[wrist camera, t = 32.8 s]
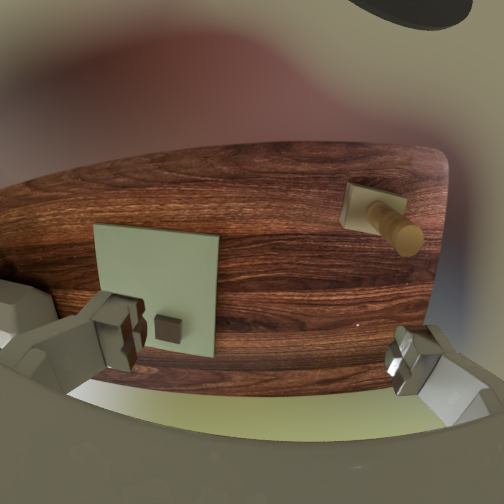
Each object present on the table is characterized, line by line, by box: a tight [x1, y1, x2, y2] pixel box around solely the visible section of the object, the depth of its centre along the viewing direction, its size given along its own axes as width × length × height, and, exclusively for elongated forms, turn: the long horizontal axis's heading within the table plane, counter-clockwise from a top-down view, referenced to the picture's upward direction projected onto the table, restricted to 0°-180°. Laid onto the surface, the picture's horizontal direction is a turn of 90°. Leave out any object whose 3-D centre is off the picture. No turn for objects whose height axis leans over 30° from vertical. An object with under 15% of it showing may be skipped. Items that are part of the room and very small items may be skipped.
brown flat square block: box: [154, 314, 182, 344], centre depth 41 cm, size 4×4×1 cm
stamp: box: [339, 182, 424, 257], centre depth 28 cm, size 5×7×12 cm
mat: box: [93, 223, 220, 357], centre depth 40 cm, size 20×18×1 cm
